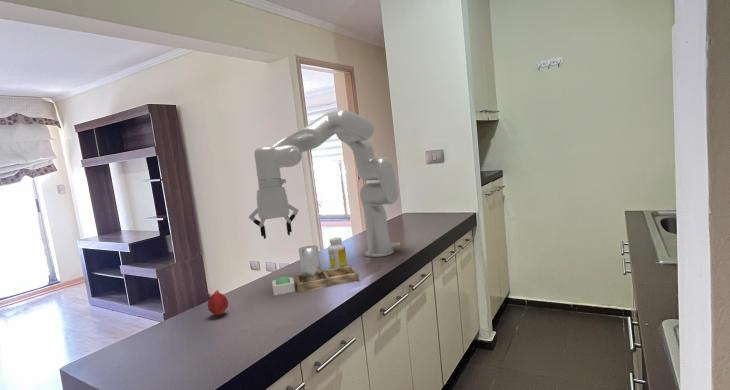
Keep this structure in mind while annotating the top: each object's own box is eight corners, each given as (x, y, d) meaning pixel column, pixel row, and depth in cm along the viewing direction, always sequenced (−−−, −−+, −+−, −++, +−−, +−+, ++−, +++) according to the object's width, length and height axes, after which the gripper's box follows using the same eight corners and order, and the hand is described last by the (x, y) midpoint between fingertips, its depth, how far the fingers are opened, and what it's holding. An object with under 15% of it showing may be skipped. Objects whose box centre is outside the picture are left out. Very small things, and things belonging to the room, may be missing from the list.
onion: (210, 321, 115) (206, 295, 114) (208, 315, 120) (204, 290, 120) (230, 315, 118) (227, 290, 117) (228, 310, 123) (224, 285, 122)
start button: (289, 289, 136) (288, 275, 135) (290, 293, 132) (288, 278, 131) (278, 291, 135) (276, 277, 134) (278, 295, 131) (276, 280, 130)
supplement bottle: (348, 267, 156) (345, 236, 155) (346, 272, 149) (342, 239, 148) (332, 268, 157) (328, 237, 155) (329, 273, 150) (325, 241, 149)
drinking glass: (320, 279, 141) (316, 244, 139) (323, 285, 134) (318, 248, 133) (302, 283, 139) (297, 247, 138) (304, 288, 133) (299, 251, 131)
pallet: (352, 274, 146) (351, 265, 146) (359, 283, 135) (358, 273, 134) (296, 284, 141) (294, 275, 141) (298, 295, 130) (297, 285, 129)
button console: (293, 288, 138) (292, 277, 137) (295, 294, 131) (293, 282, 130) (273, 291, 136) (272, 280, 136) (274, 298, 129) (272, 286, 129)
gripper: (295, 180, 135) (301, 230, 137) (243, 187, 131) (250, 238, 133) (297, 181, 128) (303, 234, 130) (242, 188, 124) (249, 242, 126)
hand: (276, 236), depth 131 cm, fingers open, 7 cm apart
